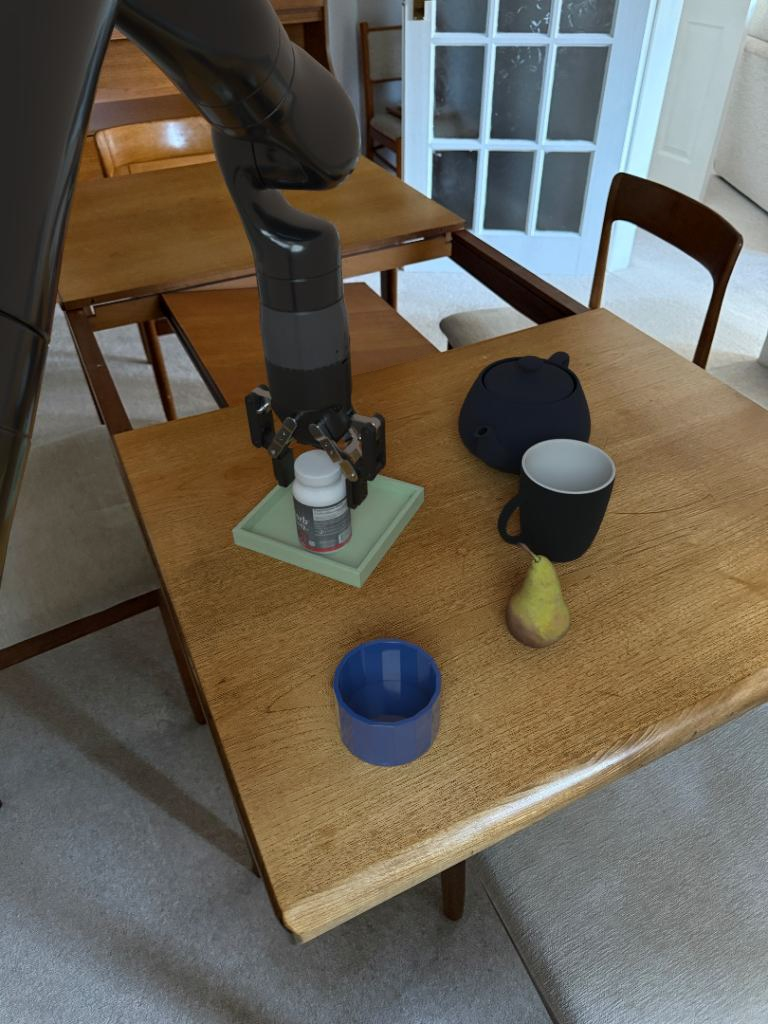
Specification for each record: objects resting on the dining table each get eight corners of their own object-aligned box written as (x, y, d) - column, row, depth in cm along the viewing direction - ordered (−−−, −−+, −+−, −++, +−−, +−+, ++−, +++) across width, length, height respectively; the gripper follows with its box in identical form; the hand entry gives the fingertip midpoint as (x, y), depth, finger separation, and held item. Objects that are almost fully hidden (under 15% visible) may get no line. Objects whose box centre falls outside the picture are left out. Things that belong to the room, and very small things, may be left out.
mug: (563, 505, 82) (576, 429, 76) (617, 554, 76) (636, 475, 70) (471, 540, 78) (476, 462, 72) (520, 594, 72) (531, 514, 66)
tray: (360, 588, 73) (359, 574, 72) (234, 544, 79) (231, 530, 77) (424, 501, 84) (424, 487, 82) (309, 467, 89) (307, 453, 88)
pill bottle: (292, 527, 80) (282, 452, 73) (343, 515, 81) (337, 440, 75) (306, 562, 76) (296, 485, 69) (359, 549, 77) (354, 472, 71)
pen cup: (412, 783, 57) (412, 743, 54) (319, 741, 60) (313, 700, 57) (455, 701, 63) (457, 660, 59) (367, 666, 66) (365, 625, 62)
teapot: (503, 390, 102) (511, 306, 94) (614, 422, 95) (632, 334, 87) (410, 487, 86) (410, 395, 78) (536, 532, 79) (549, 437, 71)
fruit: (553, 670, 65) (572, 572, 57) (493, 644, 67) (503, 547, 60) (575, 628, 69) (596, 531, 61) (518, 605, 71) (530, 509, 63)
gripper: (213, 347, 64) (241, 495, 75) (358, 382, 59) (366, 536, 69) (262, 312, 69) (282, 456, 80) (400, 342, 64) (401, 491, 75)
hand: (321, 493), depth 75 cm, fingers open, 7 cm apart
